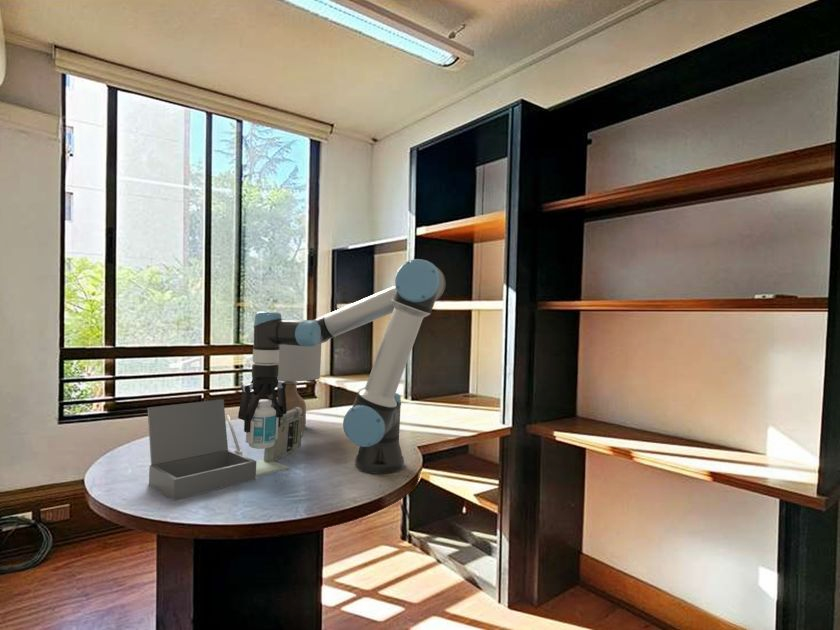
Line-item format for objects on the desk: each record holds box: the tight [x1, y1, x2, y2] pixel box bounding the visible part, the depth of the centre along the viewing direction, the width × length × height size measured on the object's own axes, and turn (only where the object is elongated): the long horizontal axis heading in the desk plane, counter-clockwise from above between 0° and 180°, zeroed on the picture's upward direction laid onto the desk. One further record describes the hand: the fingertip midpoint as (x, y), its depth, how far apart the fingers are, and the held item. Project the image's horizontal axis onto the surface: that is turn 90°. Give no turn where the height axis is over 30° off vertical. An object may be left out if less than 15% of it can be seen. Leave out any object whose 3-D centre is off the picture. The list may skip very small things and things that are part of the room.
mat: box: [255, 458, 289, 478], centre depth 142 cm, size 11×11×1 cm
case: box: [147, 398, 257, 501], centre depth 131 cm, size 19×23×20 cm
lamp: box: [276, 343, 322, 430], centre depth 192 cm, size 24×24×42 cm
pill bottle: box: [248, 398, 276, 450], centre depth 142 cm, size 8×7×14 cm
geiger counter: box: [263, 407, 304, 462], centre depth 159 cm, size 14×6×25 cm
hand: (261, 440), depth 142 cm, fingers closed on pill bottle, 7 cm apart
